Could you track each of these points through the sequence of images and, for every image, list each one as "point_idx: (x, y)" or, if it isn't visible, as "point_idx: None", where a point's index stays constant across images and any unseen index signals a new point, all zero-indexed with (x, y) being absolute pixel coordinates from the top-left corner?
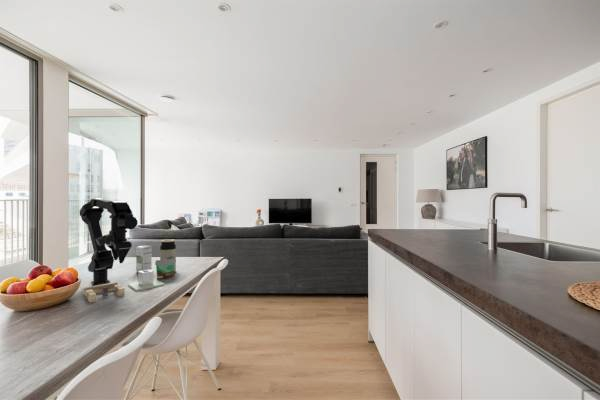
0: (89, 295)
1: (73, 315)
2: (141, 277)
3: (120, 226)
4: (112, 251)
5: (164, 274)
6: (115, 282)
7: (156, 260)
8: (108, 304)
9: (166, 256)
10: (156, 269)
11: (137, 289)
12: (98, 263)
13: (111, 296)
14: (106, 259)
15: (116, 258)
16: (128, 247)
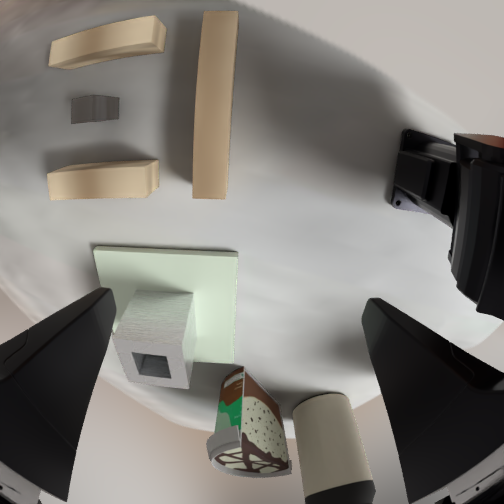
0: (60, 40)
1: (3, 26)
2: (131, 318)
3: None
4: (449, 367)
5: (220, 397)
6: (213, 191)
7: (237, 447)
8: (9, 118)
9: (311, 466)
10: (241, 404)
11: (94, 255)
12: (476, 165)
13: (89, 135)
14: (488, 251)
15: (370, 327)
16: None
